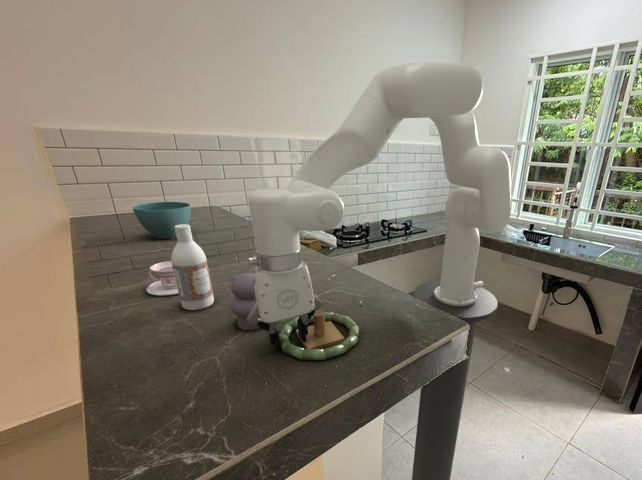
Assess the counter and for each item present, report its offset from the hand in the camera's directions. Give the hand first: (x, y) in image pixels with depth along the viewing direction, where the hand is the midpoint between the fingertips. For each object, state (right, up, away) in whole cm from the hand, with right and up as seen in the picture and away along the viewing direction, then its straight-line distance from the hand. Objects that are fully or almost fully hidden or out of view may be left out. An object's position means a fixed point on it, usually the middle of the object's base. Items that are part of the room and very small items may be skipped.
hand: (289, 341), depth 66 cm
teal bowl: (-70, +29, +63) cm, 98 cm away
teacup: (-39, +10, +22) cm, 46 cm away
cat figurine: (-11, +3, +8) cm, 14 cm away
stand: (+5, 0, +4) cm, 6 cm away
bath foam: (-28, +6, +14) cm, 32 cm away
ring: (+5, +1, +3) cm, 6 cm away
